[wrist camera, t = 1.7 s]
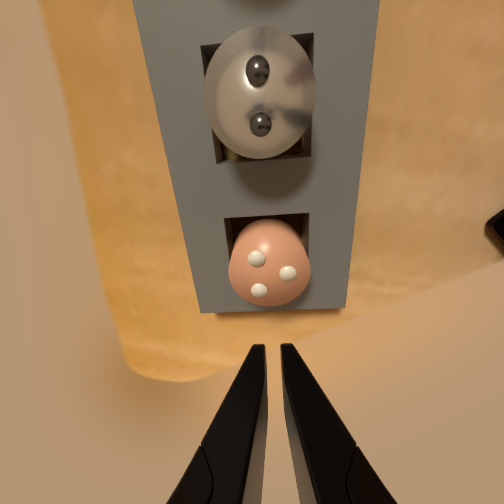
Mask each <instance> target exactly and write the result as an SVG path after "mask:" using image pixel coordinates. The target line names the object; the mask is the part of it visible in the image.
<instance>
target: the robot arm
mask: <svg viewBox="0 0 504 504" xmlns="http://www.w3.org/2000/svg"><path fill="white" fill-rule="evenodd" d="M500 221H501V222H500ZM499 222H500V223H499ZM498 223H499V224H498ZM497 224H498V225H497ZM488 227H489V228H490V229H491V231H492V232H493V233H494V234H495V235H496V237H497V238H498V239H499V240H500V242H501V243H502V244H503V245H504V209H503V210H502V211H500V212H499V213H497V214H496V215H495V216H493V217H492V218H491V219H490V220H489V222H488ZM280 351H281V369H282V370H281V371H282V383H283V384H282V385H283V399H284V412H285V419H286V426H287V431H288V437H289V443H290V448H291V454H292V460H293V465H294V471H295V476H296V482H297V488H298V493H299V499H300V504H397V502H396V501H395V500H394V498H393V497H392V496H391V494H390V493H389V492H388V490H387V489H386V487H385V486H384V484H383V483H382V482H381V480H380V478H379V477H378V475H377V474H376V472H375V471H374V470H373V468H372V467H371V465H370V464H369V462H368V460H367V459H366V457H365V456H364V454H363V453H362V451H361V450H360V448H359V447H358V446H356V442H355V440H354V439H353V437H352V436H351V434H350V433H349V431H348V430H347V428H346V426H345V425H344V423H343V422H342V420H341V419H340V417H339V415H338V414H337V412H336V411H335V409H334V408H333V406H332V404H331V403H330V401H329V400H328V398H327V397H326V395H325V393H324V392H323V390H322V389H321V387H320V386H319V384H318V383H317V381H316V379H315V378H314V376H313V375H312V373H311V372H310V370H309V369H308V367H307V365H306V364H305V362H304V361H303V359H302V358H301V356H300V354H299V353H298V351H297V350H296V348H295V347H294V345H293V344H291V343H285V344H281V345H280ZM267 421H268V397H267V364H266V350H265V345H264V344H254V345H253V346H252V347H251V349H250V351H249V353H248V355H247V357H246V359H245V360H244V362H243V364H242V366H241V368H240V370H239V372H238V374H237V376H236V377H235V379H234V381H233V383H232V385H231V387H230V389H229V391H228V392H227V394H226V396H225V398H224V400H223V402H222V404H221V406H220V408H219V410H218V411H217V413H216V415H215V417H214V419H213V421H212V423H211V425H210V427H209V429H208V430H207V433H206V434H205V436H204V438H203V440H202V442H201V446H199V447H198V449H197V451H196V453H195V455H194V457H193V458H192V461H191V462H190V464H189V466H188V467H187V469H186V471H185V473H184V475H183V476H182V478H181V480H180V482H179V483H178V485H177V487H176V488H175V490H174V491H173V493H172V495H171V496H170V498H169V500H168V501H167V503H166V504H261V497H262V484H263V473H264V459H265V447H266V435H267Z"/></svg>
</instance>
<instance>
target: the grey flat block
mask: <svg viewBox="0 0 504 504" xmlns="http://www.w3.org/2000/svg"><path fill="white" fill-rule="evenodd" d="M132 1H133V6H134V10H135V15H136V19H137V24H138V28H139V33H140V38H141V42H142V47H143V51H144V56H145V60H146V65H147V70H148V74H149V79H150V83H151V88H152V93H153V97H154V102H155V106H156V111H157V115H158V120H159V125H160V129H161V134H162V138H163V143H164V147H165V152H166V157H167V161H168V166H169V170H170V175H171V179H172V184H173V189H174V193H175V198H176V202H177V207H178V211H179V216H180V221H181V225H182V230H183V234H184V239H185V243H186V248H187V253H188V257H189V262H190V266H191V271H192V276H193V280H194V285H195V289H196V294H197V298H198V303H199V308H200V312H201V313H219V312H246V311H274V310H302V309H329V308H345V304H346V295H347V286H348V277H349V268H350V259H351V251H352V242H353V233H354V224H355V215H356V206H357V197H358V188H359V179H360V170H361V161H362V152H363V143H364V134H365V125H366V116H367V108H368V99H369V90H370V81H371V72H372V63H373V54H374V45H375V36H376V27H377V18H378V9H379V0H132ZM252 26H270V27H274V28H277V29H280V30H282V31H284V32H286V33H287V34H289V35H290V36H291V37H293V38H294V39H295V40H296V41H297V42H298V43H299V44H300V45H301V47H302V48H303V49H304V50H305V52H306V54H307V56H308V58H309V60H310V62H311V65H312V68H313V71H314V75H315V82H316V100H315V106H314V111H313V114H312V117H311V120H310V122H309V124H308V127H307V128H306V130H305V132H304V153H303V154H291V155H279V156H273V157H270V158H264V159H254V158H242V159H230V160H223V156H222V148H221V141H220V140H219V138H218V137H217V136H216V134H215V133H214V131H213V129H212V128H211V125H210V123H209V121H208V118H207V115H206V111H205V106H204V81H205V76H206V72H207V69H208V66H209V63H210V61H211V59H212V57H213V55H214V54H215V52H216V51H217V49H218V48H219V46H220V45H221V44H222V43H223V42H224V41H225V40H226V39H227V38H229V37H230V36H231V35H232V34H234V33H236V32H238V31H239V30H242V29H245V28H247V27H252ZM296 213H303V246H304V249H305V252H306V254H307V257H308V260H309V263H310V270H311V272H310V279H309V282H308V284H307V286H306V288H305V289H304V291H303V292H302V293H301V294H300V295H299V296H298V297H297V298H295V299H294V300H292V301H290V302H288V303H286V304H283V305H279V306H260V305H256V304H253V303H250V302H248V301H246V300H245V299H243V298H242V297H241V296H239V295H238V294H237V293H236V291H235V290H234V289H233V287H232V285H231V283H230V280H229V274H228V269H229V263H230V259H231V255H232V251H233V248H234V245H233V237H232V229H231V221H230V218H233V217H249V216H264V215H280V214H296Z"/></svg>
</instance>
